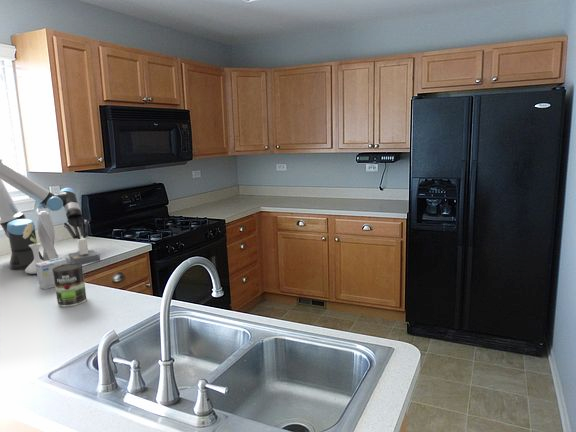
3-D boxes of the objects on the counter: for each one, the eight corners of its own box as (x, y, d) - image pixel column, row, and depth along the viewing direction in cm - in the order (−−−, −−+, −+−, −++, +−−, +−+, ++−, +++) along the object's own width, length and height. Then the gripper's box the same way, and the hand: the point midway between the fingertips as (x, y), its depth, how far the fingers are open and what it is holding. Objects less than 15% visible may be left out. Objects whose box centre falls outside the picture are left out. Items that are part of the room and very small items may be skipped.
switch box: (74, 264, 218) (73, 259, 217) (69, 259, 229) (68, 253, 228) (99, 260, 225) (98, 254, 224) (93, 254, 236) (92, 249, 235)
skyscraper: (38, 261, 227) (30, 209, 222) (50, 257, 234) (42, 207, 229) (50, 262, 225) (42, 209, 220) (61, 258, 232) (54, 207, 227)
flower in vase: (26, 271, 211) (18, 221, 206) (52, 267, 216) (45, 218, 211) (24, 278, 199) (15, 226, 195) (52, 273, 204) (43, 222, 200)
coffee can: (84, 304, 163) (79, 269, 161) (54, 308, 161) (49, 272, 158) (89, 295, 173) (84, 261, 170) (61, 299, 170) (55, 265, 168)
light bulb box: (63, 279, 195) (60, 256, 193) (70, 282, 191) (66, 259, 189) (38, 286, 187) (34, 263, 185) (44, 289, 183) (40, 265, 180)
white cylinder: (80, 255, 223) (78, 240, 221) (78, 253, 226) (76, 239, 225) (88, 253, 225) (86, 239, 224) (86, 252, 228) (84, 237, 227)
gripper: (85, 214, 244) (96, 248, 234) (60, 218, 236) (70, 253, 227) (86, 206, 239) (98, 241, 229) (60, 210, 231) (71, 246, 222)
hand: (84, 247), depth 228 cm, fingers closed
